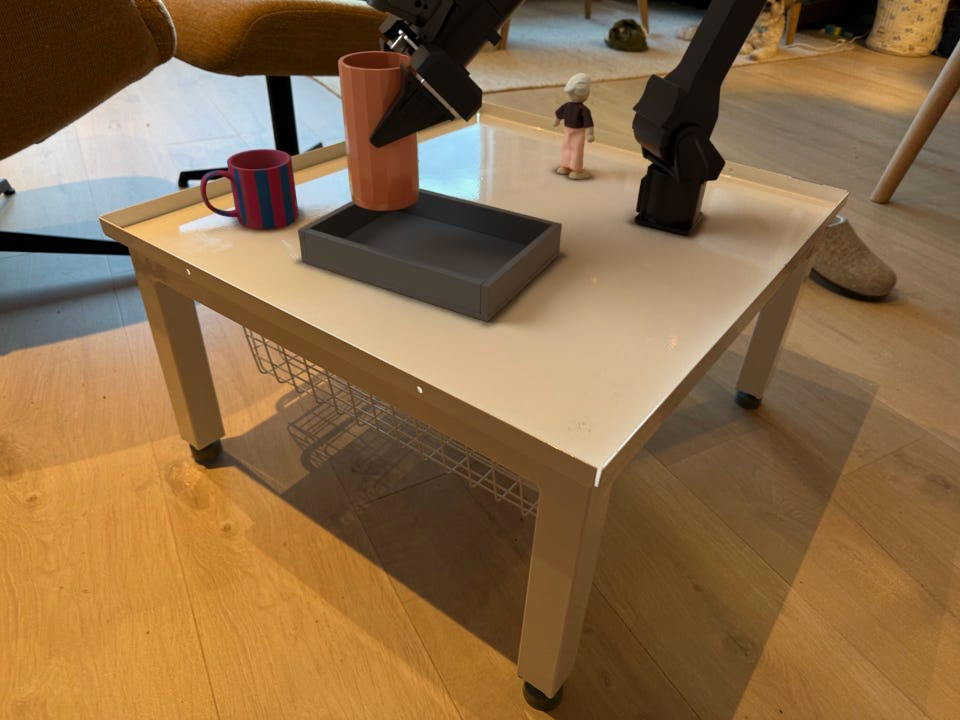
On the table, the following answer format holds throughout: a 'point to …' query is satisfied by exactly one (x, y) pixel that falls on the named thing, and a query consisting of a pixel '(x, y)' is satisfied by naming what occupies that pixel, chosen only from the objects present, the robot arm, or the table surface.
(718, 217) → the table surface
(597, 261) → the table surface
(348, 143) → the tumbler
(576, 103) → the grandmother figurine
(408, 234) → the dark grey shallow tray
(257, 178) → the mug
